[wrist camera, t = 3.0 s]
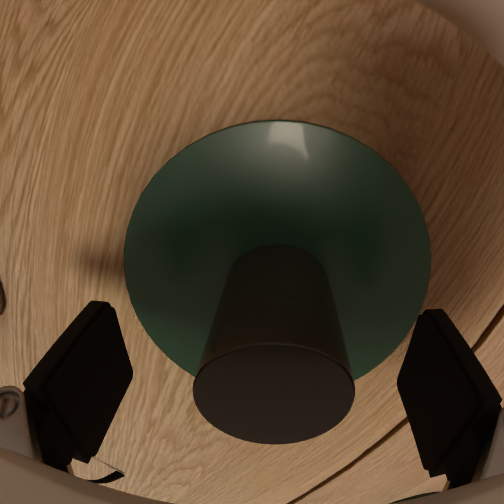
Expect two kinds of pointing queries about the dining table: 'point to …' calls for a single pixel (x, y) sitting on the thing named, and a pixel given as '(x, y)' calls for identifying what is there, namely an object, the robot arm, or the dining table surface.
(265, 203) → the lid
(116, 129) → the dining table surface
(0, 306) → the green soda can
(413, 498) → the canister
